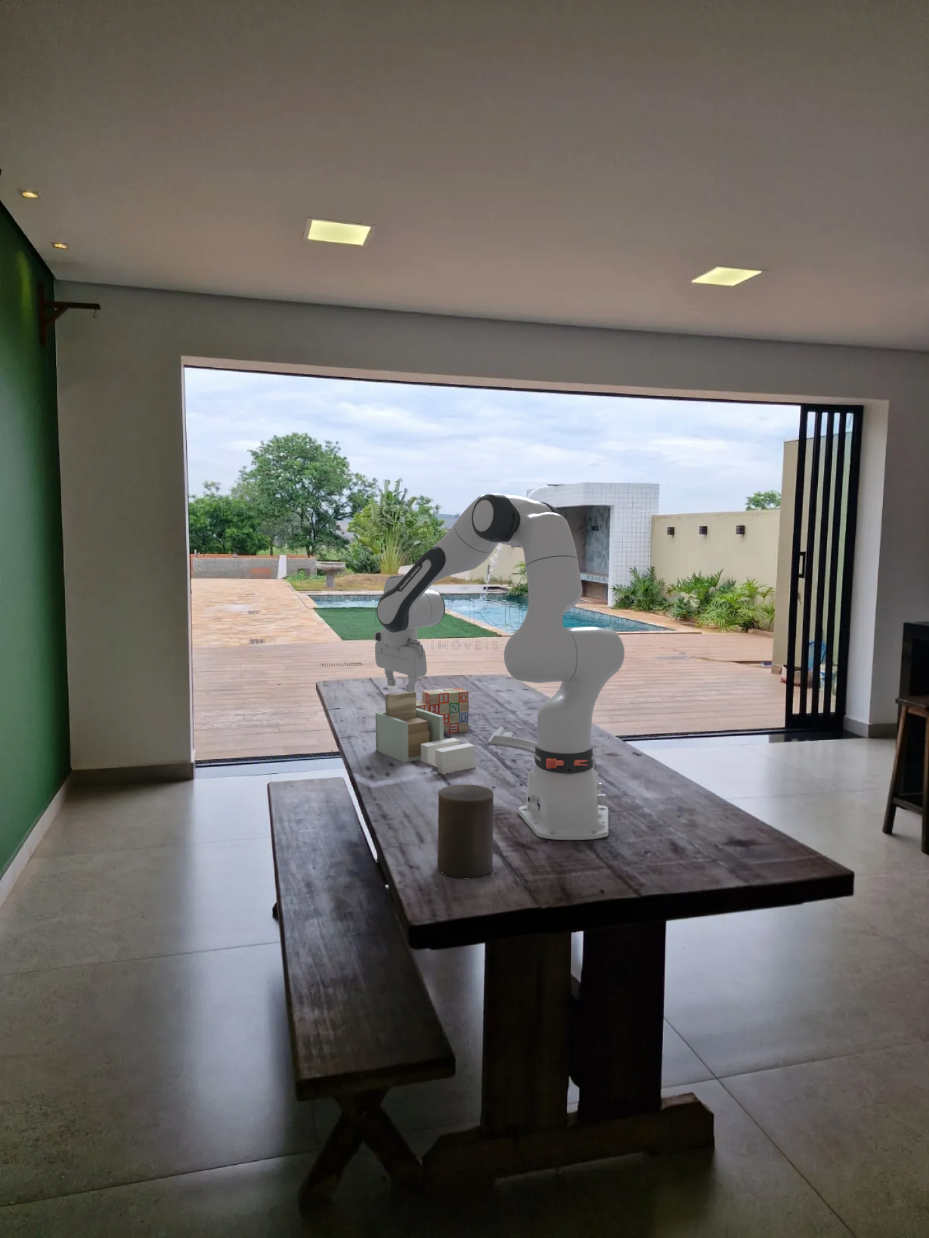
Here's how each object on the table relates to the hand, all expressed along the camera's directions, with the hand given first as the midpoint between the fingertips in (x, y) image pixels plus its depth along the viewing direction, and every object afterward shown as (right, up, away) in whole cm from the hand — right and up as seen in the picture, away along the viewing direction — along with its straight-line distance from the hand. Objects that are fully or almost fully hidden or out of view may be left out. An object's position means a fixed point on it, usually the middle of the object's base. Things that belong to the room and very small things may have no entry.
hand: (400, 688), depth 216 cm
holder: (+13, -19, -10) cm, 25 cm away
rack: (+2, -18, -2) cm, 18 cm away
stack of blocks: (+7, -15, +24) cm, 29 cm away
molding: (+37, -18, +5) cm, 41 cm away
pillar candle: (+17, -26, -72) cm, 78 cm away
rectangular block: (0, -16, +1) cm, 16 cm away
